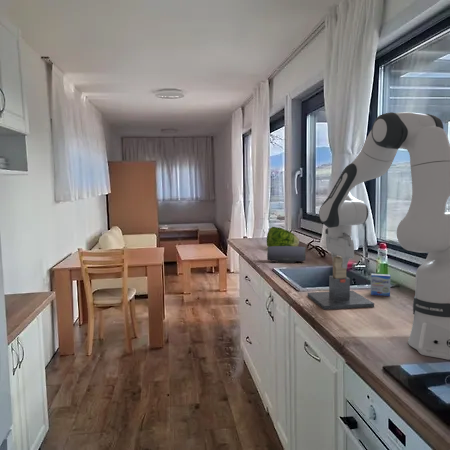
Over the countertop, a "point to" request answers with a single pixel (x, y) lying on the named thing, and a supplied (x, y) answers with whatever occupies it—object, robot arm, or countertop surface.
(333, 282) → the stand
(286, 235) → the lettuce
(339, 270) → the post
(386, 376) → the countertop surface
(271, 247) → the bluetooth speaker
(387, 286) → the medicine box
